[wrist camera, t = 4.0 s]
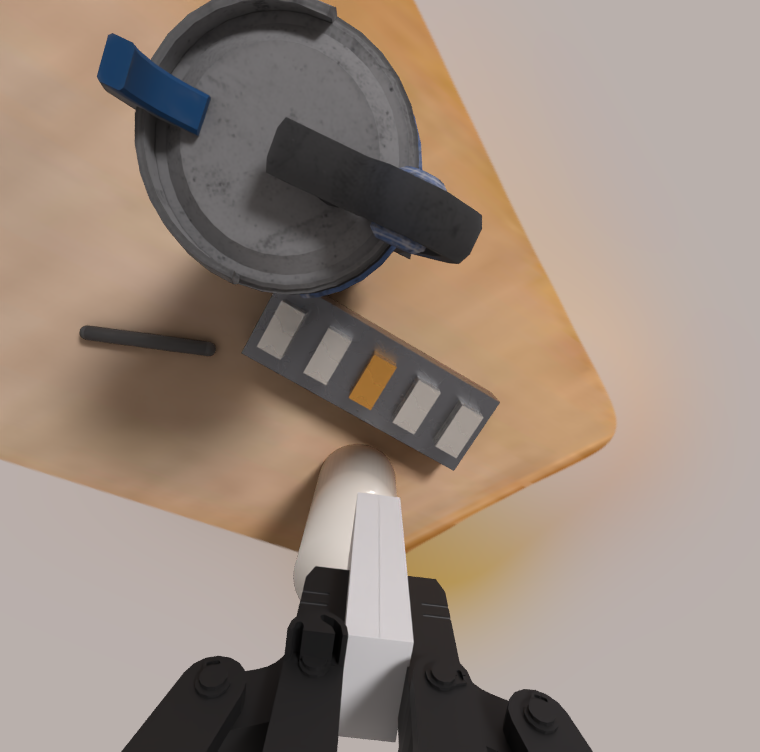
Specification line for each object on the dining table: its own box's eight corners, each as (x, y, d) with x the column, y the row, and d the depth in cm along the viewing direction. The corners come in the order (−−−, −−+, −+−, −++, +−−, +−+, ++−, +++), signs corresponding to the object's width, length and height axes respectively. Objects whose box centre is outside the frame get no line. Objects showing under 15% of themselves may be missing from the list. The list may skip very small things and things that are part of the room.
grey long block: (252, 345, 41) (236, 356, 36) (290, 274, 40) (278, 276, 35) (447, 454, 44) (456, 478, 39) (489, 390, 42) (504, 407, 37)
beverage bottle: (392, 310, 40) (418, 384, 16) (244, 244, 39) (22, 213, 14) (445, 193, 38) (568, 70, 14) (290, 119, 37) (121, -165, 12)
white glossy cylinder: (315, 509, 44) (288, 619, 31) (323, 439, 43) (299, 522, 29) (389, 518, 45) (395, 631, 31) (400, 449, 43) (412, 536, 29)
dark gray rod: (84, 337, 40) (76, 339, 39) (84, 323, 40) (76, 325, 39) (217, 355, 41) (212, 358, 40) (218, 341, 41) (213, 344, 39)
